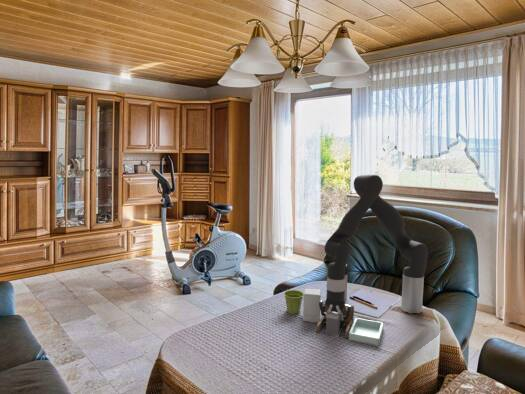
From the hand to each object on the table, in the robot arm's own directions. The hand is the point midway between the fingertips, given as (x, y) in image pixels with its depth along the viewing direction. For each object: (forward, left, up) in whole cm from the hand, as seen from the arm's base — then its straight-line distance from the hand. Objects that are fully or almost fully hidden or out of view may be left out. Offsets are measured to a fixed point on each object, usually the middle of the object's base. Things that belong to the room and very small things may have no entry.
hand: (334, 326), depth 162 cm
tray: (-1, +13, -1) cm, 13 cm away
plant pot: (-11, -22, -2) cm, 25 cm away
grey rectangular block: (0, 0, -1) cm, 1 cm away
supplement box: (-7, -12, -2) cm, 14 cm away
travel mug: (-36, -6, -2) cm, 37 cm away
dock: (-1, 0, -1) cm, 2 cm away
